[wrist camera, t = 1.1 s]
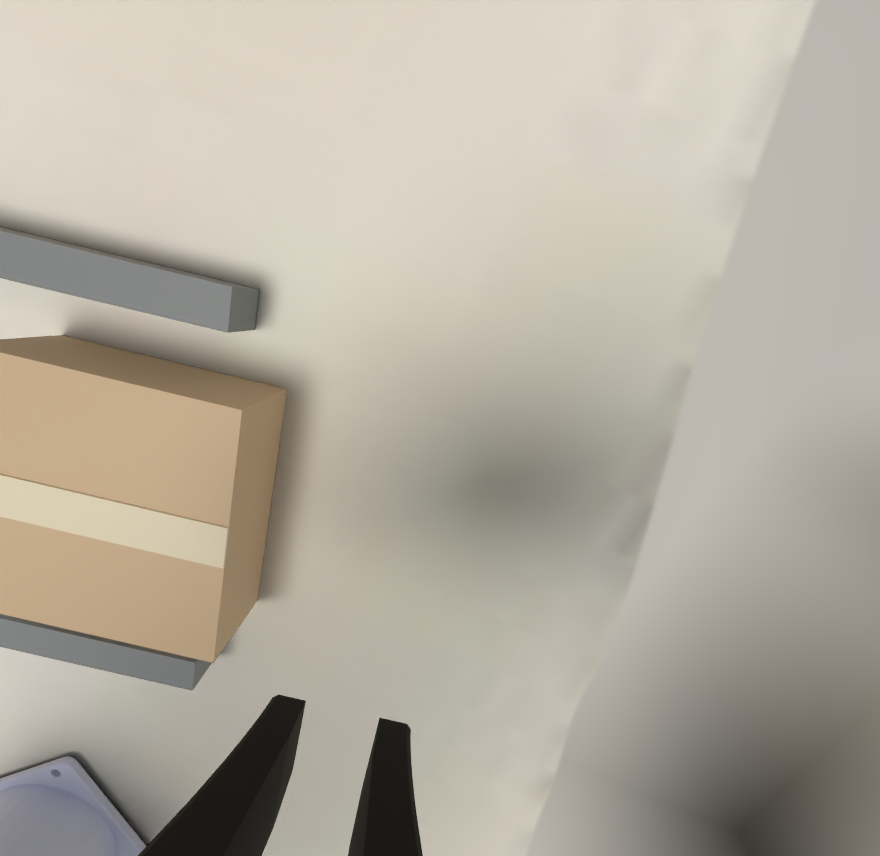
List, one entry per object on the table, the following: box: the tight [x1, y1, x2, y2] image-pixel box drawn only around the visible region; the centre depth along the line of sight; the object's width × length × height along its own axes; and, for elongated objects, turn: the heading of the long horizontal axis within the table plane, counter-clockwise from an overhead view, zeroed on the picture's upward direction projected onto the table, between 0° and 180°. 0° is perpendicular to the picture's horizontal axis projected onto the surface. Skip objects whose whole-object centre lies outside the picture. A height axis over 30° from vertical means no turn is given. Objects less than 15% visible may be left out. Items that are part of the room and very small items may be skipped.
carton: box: [0, 335, 287, 663], centre depth 17 cm, size 9×10×4 cm
